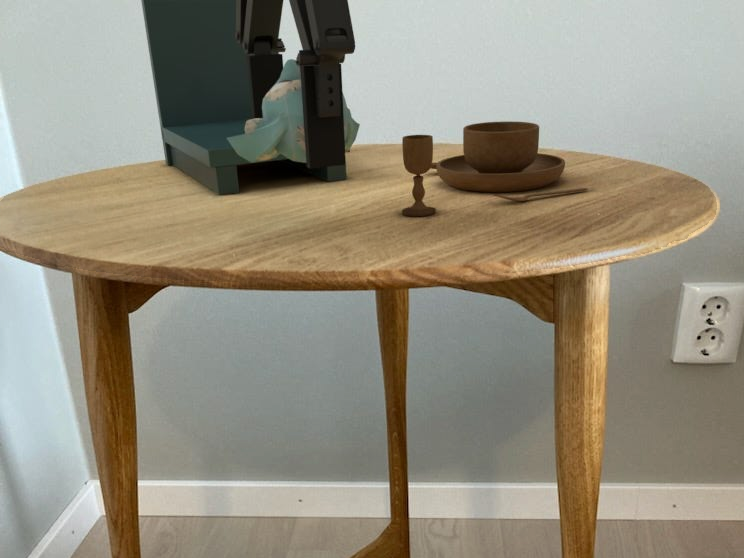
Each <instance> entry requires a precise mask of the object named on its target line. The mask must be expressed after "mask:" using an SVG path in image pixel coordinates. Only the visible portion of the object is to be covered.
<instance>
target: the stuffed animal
mask: <svg viewBox="0 0 744 558" xmlns="http://www.w3.org/2000/svg"><path fill="white" fill-rule="evenodd" d="M295 61H296V59H293V58H290V59H287V60H286V62H285V63H284V64H283V70H282V72H281V76H280V78H279V79H278V81H277V82H276V83H275V85H274V86H273V87H272V88H271V89H270V90H269V91H268V93H267V94H266V95H265V97H264V98H263V102H262V113H263V118H255V119H251V120H248V121H246V124H245V133H246V134H242V135H238V136H233V137H228V138H227V139H228V141H229V142H230V144H231V145H232V147H233V148H234V150H235V151H236V153H237V154H238V155H239V156H241V157H243V158H244V159H246V160H248V161H249V162H251V163H250V164H253V163H252V162H256V163H260V162H259V161H265V162H267V161H266V160H270V159H272V158H275V157H277V156H278V155H279V154H282V155H283V156H285V157H287V158H289V159H290V160H292V161H297V162H304V163H306V149H305V134H304V119H303V104H302V89H301V74H300V66H297V65H296V62H295ZM342 93H343V114H344V136H345V152H346V153H348V152H347V151H349V149H350V150H351V148H352V146H353V144H355V142H356V139H357V136H358V132H359V129H360V125H361V124H360V123H358V122H357V121H356V120H355V119H354V118H353V117H352V113H351V110H350V108H349V107H348V105H347V101H346V98H345V94H344V92H343V91H342Z"/></svg>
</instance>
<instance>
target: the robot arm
mask: <svg viewBox="0 0 744 558" xmlns="http://www.w3.org/2000/svg"><path fill="white" fill-rule="evenodd" d="M288 2H289V5H290V8H291V13H292V17H293V20H294V23H295V27H296V31H297V34H298V38H299V41H300V45H301V48H302V49H299V50H298V52H297V55H296V58H295V60H296V61H295V62H296V65H297V66H300V74H301V89H302V104H303V119H304V134H305V149H306V164H307V167H308V168H310V169H311V168H320V167H330V166H339V165H346V166H347V161H346V160H347V159H346V153H345V136H344V114H343V95H344V92H343V73H342V71H343V70H342V64H344V62H345V61H346V60H345V59H346V55H352V54H354V52H355V51H356V41H355V35H354V28H353V23H352V17H351V12H350V5H349V1H348V0H288ZM283 7H284V0H236V33H235V36H236V40H237V42H238V44H243V49H244V51H245V53H246V54H250V56H247V65H248V76H249V87H250V98H251V109H252V119H255V118H263V113H262V102H263V98H264V97H265V95H266V94H267V93H268V91H269V90H270V89H271V88H272V87H273V86H274V85H275V83H276V82H277V81H278V79H279V78H280V76H281V72H282V70H283V68H284V58H283V54H282V53H285V52H286V50H287V48H286V46H285V43H284V41H283V40H282V38H279V36H280V29H281V21H282V15H283ZM276 52H279V54H271V53H276ZM342 92H343V93H342Z"/></svg>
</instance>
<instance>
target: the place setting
mask: <svg viewBox="0 0 744 558" xmlns="http://www.w3.org/2000/svg"><path fill="white" fill-rule="evenodd" d="M401 139H402V143H401V144H402V161H403V166H404V169H405V171H407V173H409V174H411V175H414V176H413V177H412V180H413V187H412V191H411V194H412V197H413V199H414V203H412V205H410V206H409V207H405V208H402V210H401V213H402V215H404V216H408V217H427V216H432V215H435V214H436V213H437V209H436V208H435V207H433V206H427V205H426V204H425V203H424V202H423V200H424V197H425V195H426V189H425V187H424V176H423V175H424V174H426V173H427V172H429V171H430V170H436V173H437V175H438V178H439V179H440V180H441V181H443V182H444V183H445V184H447V185H449V186H451V187H452V188H455V189H459V190H462V191H463V190H464V191H470V192H471V191H472V192H481V193H484V192H485V193H492V194H491V195H492V196H494V197H497V198H501V199H505V200H509V201H515V202H525V201H527V200H528V199H529V198H532V197H539V196H540V197H541V196H550V195H551V196H552V195H560V194H569V193H577V192H583V191H588V190H589V188H588V187H581V188H573V189H572V188H571V189H563V190H555V191H545V192H537V193H529V194H525V195H523V196H518V197H517V196H516V197H511V196H505V195H500V194H493V193H503V192H504V193H509V192H520V191H529V190H535V189H538V188H542V187H543V188H544V187H546V186H548V185H550V184H552V183H553V182H555V181H556V180H558V179H559V178H560V177H561V176H562V174H563V173H564V170H565V167H566V161H565V159H564V158H562V157H560V156H557V155H552V154H548V153H547V154H546V153H539V144H540V143H539V142H540V125H539V124H537V123H534V122H529V121H509V120H508V121H487V122H479V123H472V124H468V125H465V126H464V127H463V128H462V145H463V147H462V149H463V154H460V155H454V156H450V157H447V158H444V159H441V160H439V161H437V162H433V159H434V157H433V156H434V138H433V135H431V134H410V135H405V136H402V138H401Z"/></svg>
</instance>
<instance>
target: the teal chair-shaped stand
mask: <svg viewBox="0 0 744 558" xmlns="http://www.w3.org/2000/svg"><path fill="white" fill-rule="evenodd" d="M140 1H141V2H140V3H141V7H142V14H143V20H144V27H145V33H146V35H145V36H146V40H147V48H148V53H149V61H150V67H151V68H150V69H151V73H152V80H153V87H154V93H155V94H154V95H155V99H156V100H155V101H156V107H157V115H158V120H159V121H158V122H159V126H160V132H161V140H162V147H163V152H164V153H163V154H164V159H165V165H166V166H168V167H171V166H173V167H175V168H176V169H178V170H180V171H181V172H182V173H184V174H186V175H187V176H188V177H190V178H192V179H193V180H195V181H197V182H198V183H200V184H201V185H203V186H204V187H206V188H208V189H209V190H211V191H212V192H214V193H216V194H217V195H219V196H221V195H222V196H223V195H230V194H239V193H240V184H239V178H238V177H239V176H238V170H237V169H238V167H237V166H238V165H247V164H255V163H257V162H252V163H251V162H249V161H248V160H246V159H244V158H243V157H241V156H239V155H238V154H237V153H236V151H235V150H234V148H233V147H232V145H231V144H230V142H229V141H228V139H227V138H228V137H233V136H238V135H242V134H246V133H245V124H246V121H248V120H251V119H252V109H251V98H250V87H249V76H248V65H247V56H250V54H246V53H245V51H244V49H243V44H238V42H237V40H236V36H235V33H236V0H140ZM271 54H280V52H276V53H271ZM350 152H351V148H350V149H349V151H347V152H345V154H346V153H350ZM274 161H279V162H282V163H284V164H287V165H289V166H292V167H294V168H296V169H297V170H301V171H303V172H304V173H307V174H310V175H312V176H315V177H316V178H319V179H322V180H324V181H326V182H328V183H329V182H335V181H345V180H347V178H348V177H347V176H348V175H347V164H346V165H339V166H330V167H320V168H311V169H310V168H308V167H307V164H306V163H304V162H297V161H292V160H290V159H289V158H287V157H285V156H283V155H282V154H279V155H278V156H277V157H275V158H272V159H270V160H266V161H259V162H258V163H264V162H274Z"/></svg>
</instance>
